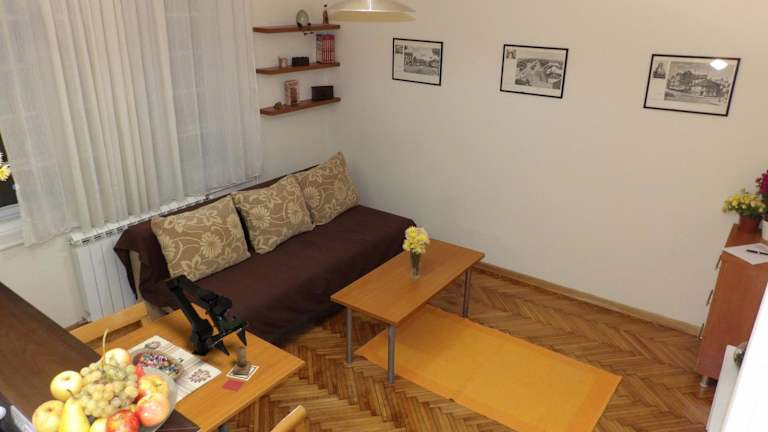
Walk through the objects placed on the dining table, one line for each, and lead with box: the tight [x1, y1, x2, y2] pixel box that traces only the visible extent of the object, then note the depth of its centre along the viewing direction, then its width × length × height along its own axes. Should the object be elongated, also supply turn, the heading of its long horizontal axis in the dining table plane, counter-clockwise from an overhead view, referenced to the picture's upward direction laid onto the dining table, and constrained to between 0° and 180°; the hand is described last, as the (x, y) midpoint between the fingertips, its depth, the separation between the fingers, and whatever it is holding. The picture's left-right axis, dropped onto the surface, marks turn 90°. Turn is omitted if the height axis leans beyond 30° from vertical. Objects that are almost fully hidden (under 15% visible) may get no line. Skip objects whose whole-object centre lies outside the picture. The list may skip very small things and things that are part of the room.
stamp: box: [232, 345, 252, 376], centre depth 234 cm, size 6×6×11 cm
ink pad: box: [221, 378, 246, 392], centre depth 227 cm, size 8×7×1 cm
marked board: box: [225, 364, 259, 382], centre depth 236 cm, size 10×10×1 cm
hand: (237, 350), depth 234 cm, fingers open, 9 cm apart
